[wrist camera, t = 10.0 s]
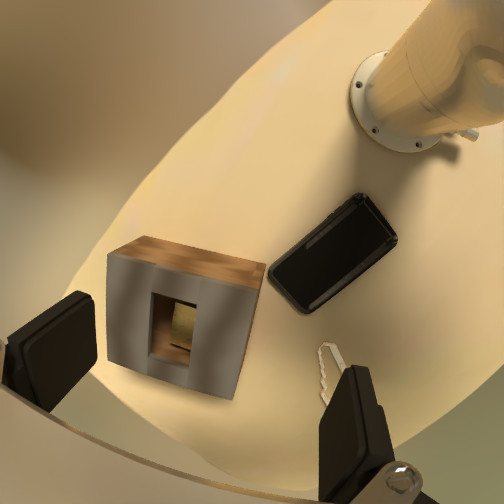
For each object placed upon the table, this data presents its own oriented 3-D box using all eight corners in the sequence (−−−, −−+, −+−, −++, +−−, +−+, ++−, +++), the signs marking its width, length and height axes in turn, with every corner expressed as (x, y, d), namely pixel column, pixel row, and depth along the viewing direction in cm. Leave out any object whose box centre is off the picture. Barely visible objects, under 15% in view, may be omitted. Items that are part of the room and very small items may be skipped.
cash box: (265, 264, 38) (257, 292, 30) (244, 358, 42) (232, 400, 34) (143, 235, 40) (107, 254, 31) (137, 328, 44) (107, 360, 35)
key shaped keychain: (298, 348, 42) (298, 355, 40) (332, 334, 41) (333, 340, 39) (333, 411, 44) (333, 418, 42) (363, 400, 42) (364, 406, 41)
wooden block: (206, 298, 40) (199, 309, 37) (198, 336, 42) (190, 350, 38) (184, 291, 40) (175, 302, 37) (177, 329, 42) (168, 342, 39)
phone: (401, 241, 35) (305, 317, 39) (398, 238, 36) (305, 313, 40) (361, 188, 34) (263, 271, 38) (359, 187, 35) (264, 268, 39)
